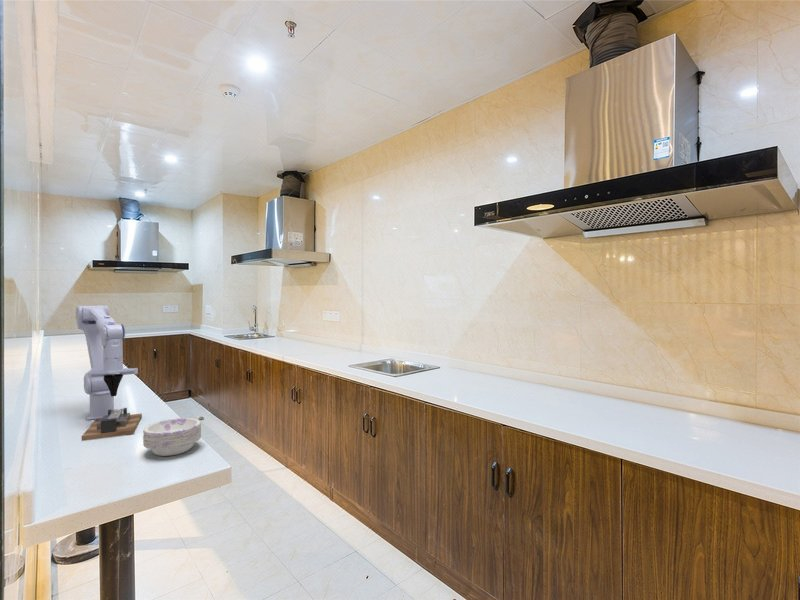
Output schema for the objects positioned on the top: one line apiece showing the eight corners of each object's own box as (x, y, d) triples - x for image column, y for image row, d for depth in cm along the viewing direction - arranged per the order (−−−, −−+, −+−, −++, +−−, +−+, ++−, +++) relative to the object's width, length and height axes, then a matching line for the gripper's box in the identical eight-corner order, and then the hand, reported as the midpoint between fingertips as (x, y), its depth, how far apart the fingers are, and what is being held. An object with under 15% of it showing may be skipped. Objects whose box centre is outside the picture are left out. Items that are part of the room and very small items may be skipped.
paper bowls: (188, 437, 133) (187, 413, 133) (210, 449, 123) (209, 423, 123) (135, 451, 121) (135, 425, 121) (155, 465, 111) (154, 437, 111)
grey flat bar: (112, 413, 146) (112, 409, 146) (122, 412, 148) (122, 408, 148) (104, 424, 134) (104, 421, 134) (115, 423, 136) (115, 419, 136)
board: (96, 422, 147) (96, 418, 147) (141, 417, 153) (141, 413, 153) (81, 440, 129) (81, 436, 129) (133, 434, 135) (133, 429, 135)
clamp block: (104, 419, 146) (104, 408, 145) (130, 417, 149) (130, 406, 149) (93, 434, 131) (93, 422, 131) (123, 430, 134) (122, 418, 134)
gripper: (85, 361, 138) (85, 400, 138) (135, 357, 144) (136, 395, 144) (90, 358, 144) (91, 396, 144) (138, 355, 151) (138, 391, 151)
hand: (113, 395), depth 145 cm, fingers closed
